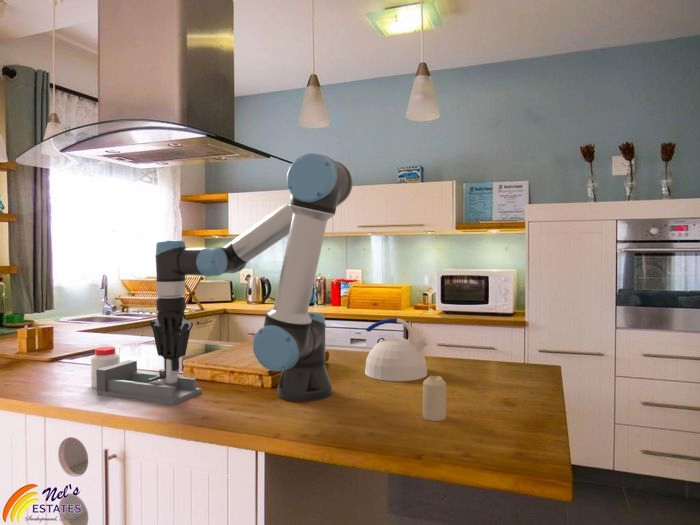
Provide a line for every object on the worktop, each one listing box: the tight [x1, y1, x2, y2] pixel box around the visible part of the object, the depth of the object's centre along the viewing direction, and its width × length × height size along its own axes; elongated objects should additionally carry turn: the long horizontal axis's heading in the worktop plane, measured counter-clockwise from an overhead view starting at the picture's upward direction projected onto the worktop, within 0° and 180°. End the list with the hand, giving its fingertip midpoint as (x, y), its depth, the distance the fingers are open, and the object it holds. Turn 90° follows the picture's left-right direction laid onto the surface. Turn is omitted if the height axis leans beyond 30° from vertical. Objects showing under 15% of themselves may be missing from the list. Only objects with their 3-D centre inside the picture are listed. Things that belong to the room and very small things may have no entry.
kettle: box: [364, 318, 429, 382], centre depth 166 cm, size 20×21×18 cm
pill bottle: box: [90, 346, 121, 389], centre depth 154 cm, size 8×8×11 cm
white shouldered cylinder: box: [422, 375, 447, 422], centre depth 124 cm, size 6×6×10 cm
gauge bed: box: [96, 359, 202, 406], centre depth 144 cm, size 26×12×7 cm, turn 69°
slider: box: [148, 368, 180, 389], centre depth 142 cm, size 4×12×6 cm, turn 159°
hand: (171, 381), depth 141 cm, fingers closed
